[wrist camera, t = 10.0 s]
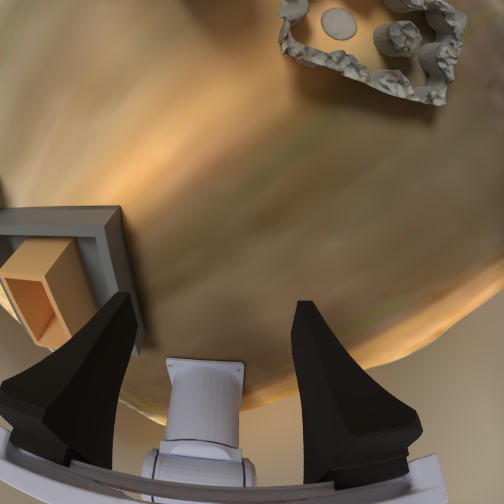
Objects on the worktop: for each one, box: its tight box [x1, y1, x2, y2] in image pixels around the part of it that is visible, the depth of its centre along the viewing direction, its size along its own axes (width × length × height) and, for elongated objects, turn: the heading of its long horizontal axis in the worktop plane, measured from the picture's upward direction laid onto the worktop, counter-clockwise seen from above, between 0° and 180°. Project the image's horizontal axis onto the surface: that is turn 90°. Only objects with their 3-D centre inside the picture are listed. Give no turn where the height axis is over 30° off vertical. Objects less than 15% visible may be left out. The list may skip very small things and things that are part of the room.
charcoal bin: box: [0, 206, 146, 356], centre depth 22 cm, size 13×13×3 cm
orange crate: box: [0, 236, 99, 349], centre depth 21 cm, size 8×5×5 cm, turn 178°
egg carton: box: [278, 0, 467, 107], centre depth 12 cm, size 11×8×4 cm
